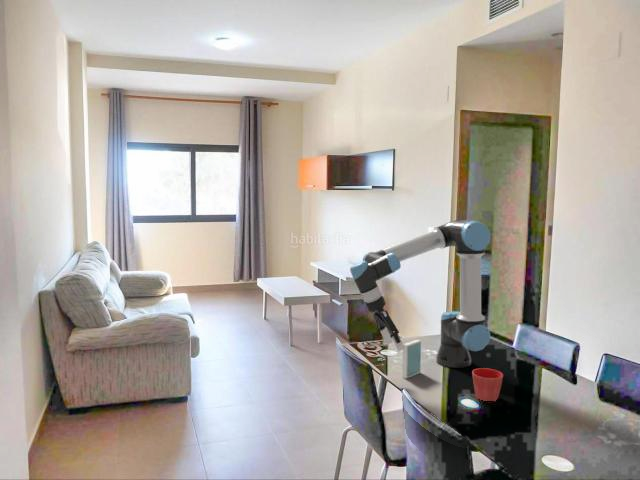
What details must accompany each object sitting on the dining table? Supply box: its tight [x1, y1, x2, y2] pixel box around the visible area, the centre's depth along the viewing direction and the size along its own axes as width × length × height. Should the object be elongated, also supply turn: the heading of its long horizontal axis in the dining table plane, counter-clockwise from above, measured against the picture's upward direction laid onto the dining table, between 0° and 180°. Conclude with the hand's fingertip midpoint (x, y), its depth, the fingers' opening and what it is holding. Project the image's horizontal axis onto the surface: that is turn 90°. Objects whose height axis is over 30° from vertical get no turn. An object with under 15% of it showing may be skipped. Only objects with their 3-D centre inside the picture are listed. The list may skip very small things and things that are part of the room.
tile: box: [401, 339, 422, 380], centre depth 213 cm, size 10×2×14 cm, turn 134°
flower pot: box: [471, 367, 504, 402], centre depth 188 cm, size 11×11×10 cm
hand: (395, 346), depth 203 cm, fingers open, 13 cm apart
